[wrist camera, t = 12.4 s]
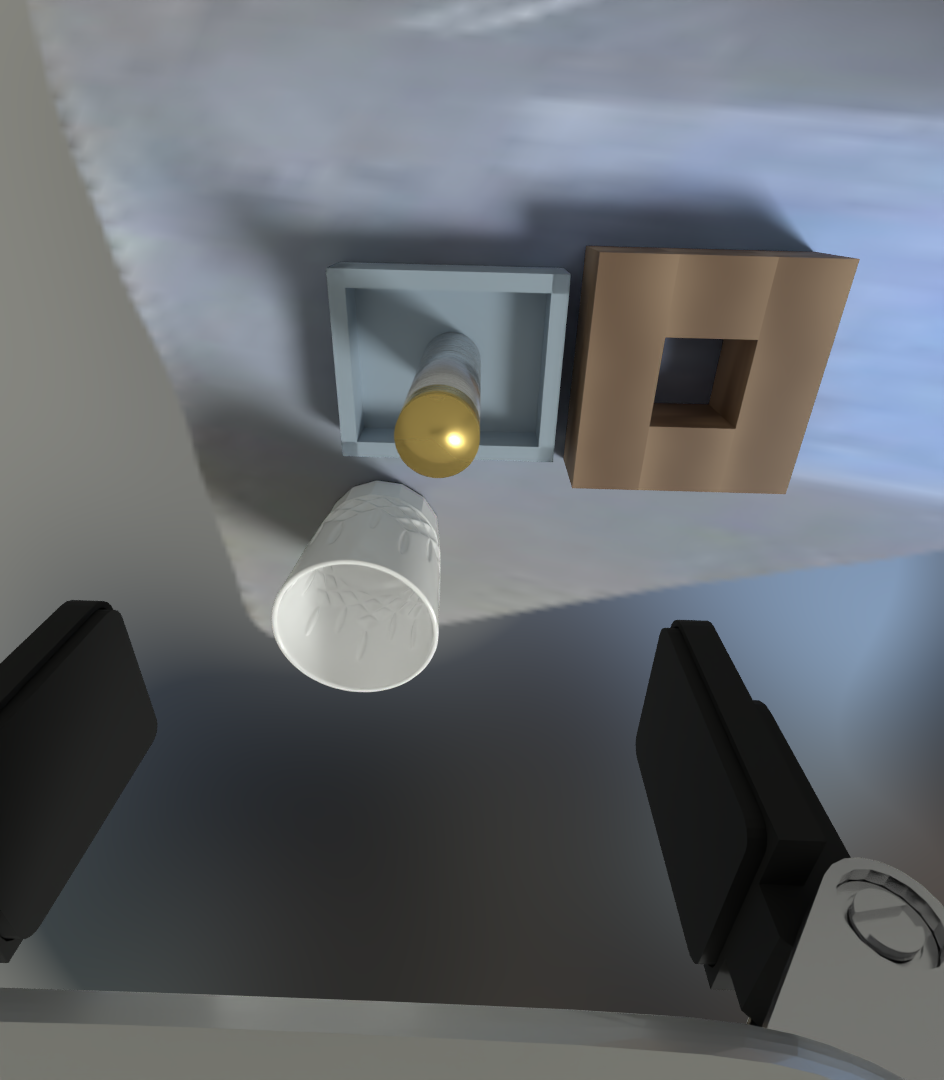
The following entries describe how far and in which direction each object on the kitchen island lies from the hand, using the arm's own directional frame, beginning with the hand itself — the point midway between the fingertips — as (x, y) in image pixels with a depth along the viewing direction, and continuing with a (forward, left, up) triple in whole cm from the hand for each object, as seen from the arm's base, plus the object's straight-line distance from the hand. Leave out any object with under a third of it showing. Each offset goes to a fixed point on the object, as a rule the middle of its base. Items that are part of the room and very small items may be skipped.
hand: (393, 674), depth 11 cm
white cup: (+4, +11, -24) cm, 27 cm away
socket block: (-12, 0, -24) cm, 27 cm away
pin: (0, 0, -23) cm, 23 cm away
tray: (0, 0, -24) cm, 24 cm away
